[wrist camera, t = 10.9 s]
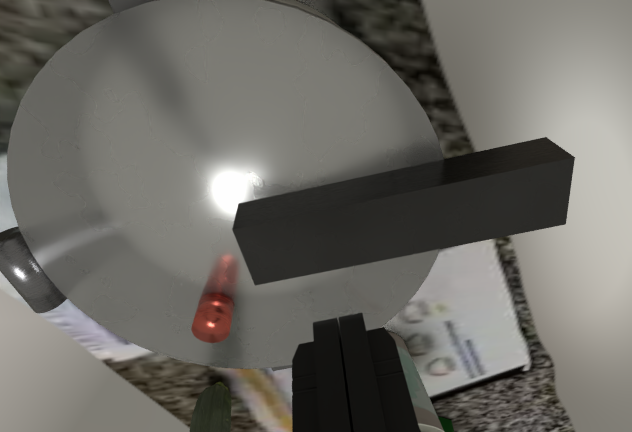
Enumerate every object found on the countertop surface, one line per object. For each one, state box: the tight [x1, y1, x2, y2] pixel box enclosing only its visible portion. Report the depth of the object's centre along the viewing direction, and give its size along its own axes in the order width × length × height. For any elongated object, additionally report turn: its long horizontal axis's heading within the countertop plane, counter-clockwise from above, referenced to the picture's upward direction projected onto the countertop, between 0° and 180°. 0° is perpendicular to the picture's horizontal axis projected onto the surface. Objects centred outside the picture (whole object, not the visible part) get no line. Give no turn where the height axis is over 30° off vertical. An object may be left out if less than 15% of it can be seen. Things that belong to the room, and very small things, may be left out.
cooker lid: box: [0, 0, 575, 369], centre depth 18 cm, size 19×25×4 cm
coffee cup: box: [388, 331, 444, 432], centre depth 35 cm, size 8×8×12 cm
